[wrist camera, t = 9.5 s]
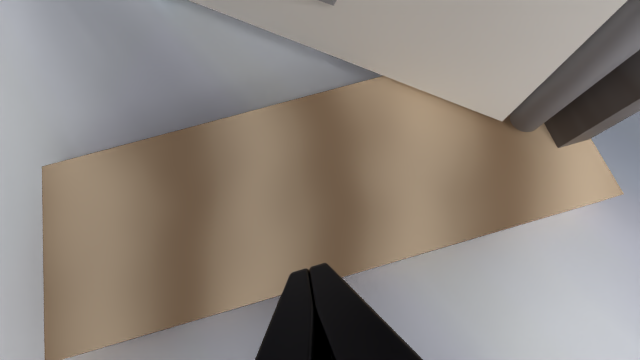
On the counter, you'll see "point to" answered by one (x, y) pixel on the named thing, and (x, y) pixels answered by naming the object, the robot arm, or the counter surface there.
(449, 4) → the door
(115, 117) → the counter surface
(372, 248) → the door base
